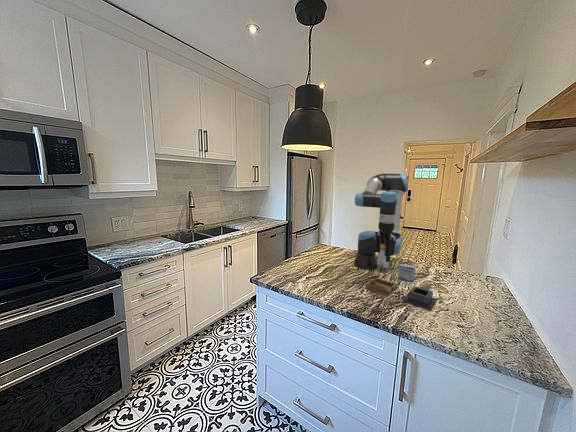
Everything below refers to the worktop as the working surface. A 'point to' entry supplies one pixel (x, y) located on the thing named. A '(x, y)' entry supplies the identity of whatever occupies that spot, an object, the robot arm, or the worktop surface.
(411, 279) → the medicine box
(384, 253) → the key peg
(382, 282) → the tray
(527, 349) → the worktop surface
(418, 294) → the block
